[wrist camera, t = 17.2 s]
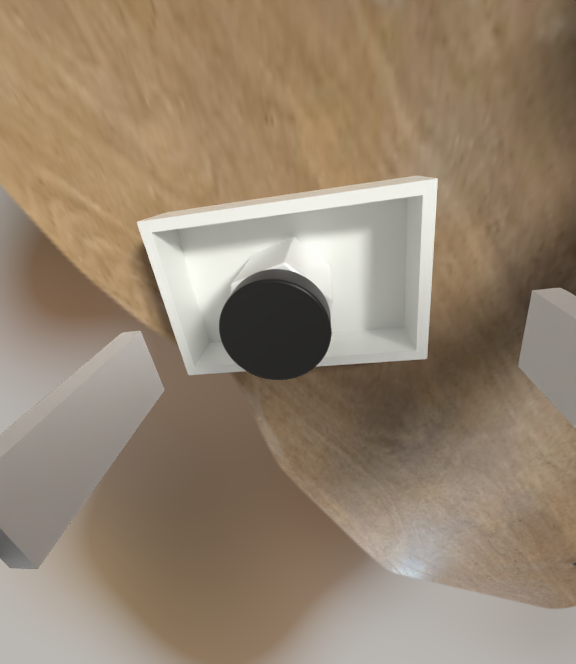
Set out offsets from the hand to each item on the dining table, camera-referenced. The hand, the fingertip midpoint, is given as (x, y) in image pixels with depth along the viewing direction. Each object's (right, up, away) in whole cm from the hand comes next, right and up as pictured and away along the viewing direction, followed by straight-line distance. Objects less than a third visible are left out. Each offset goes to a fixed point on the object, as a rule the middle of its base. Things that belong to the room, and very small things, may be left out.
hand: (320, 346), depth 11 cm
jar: (-1, +6, +23) cm, 23 cm away
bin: (0, +7, +23) cm, 24 cm away
